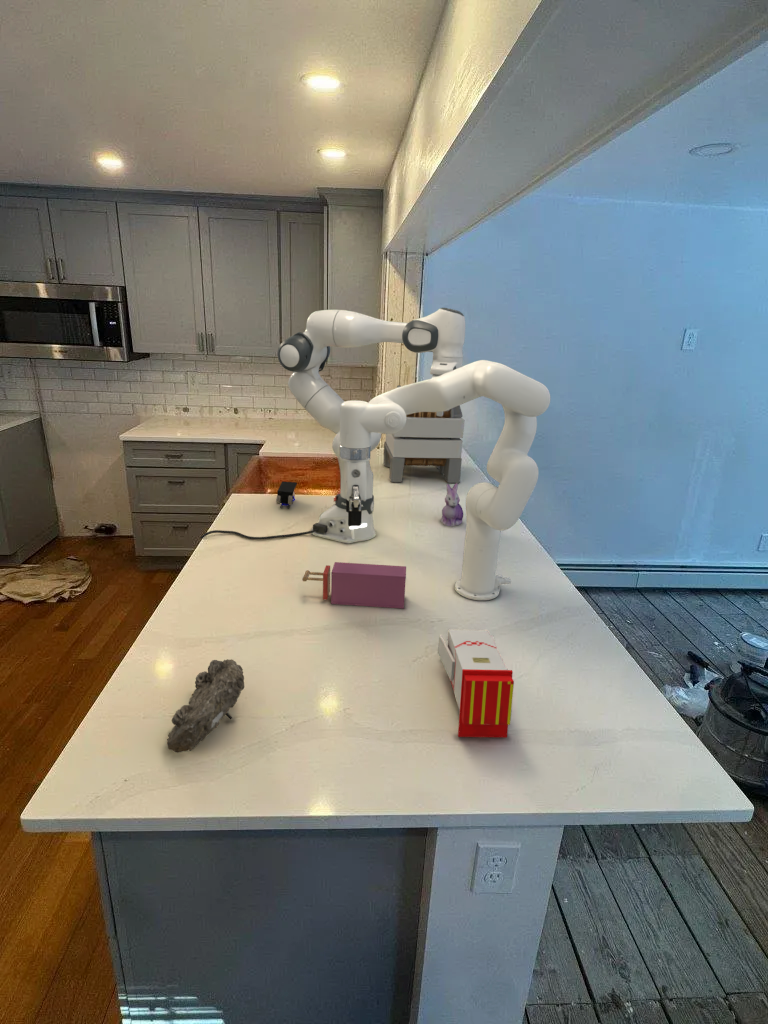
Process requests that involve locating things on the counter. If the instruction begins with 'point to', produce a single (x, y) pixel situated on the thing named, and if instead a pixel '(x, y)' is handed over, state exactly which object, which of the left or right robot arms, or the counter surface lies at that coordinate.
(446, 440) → the transformer
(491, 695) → the toy
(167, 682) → the counter surface
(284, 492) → the figurine character
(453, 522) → the figurine
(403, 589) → the cabinet
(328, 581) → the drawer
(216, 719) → the fossil
